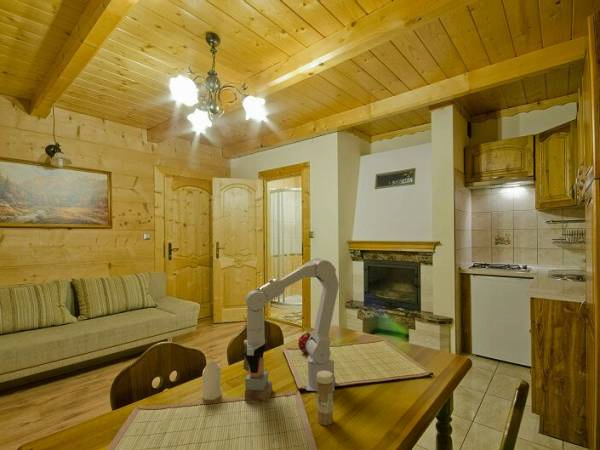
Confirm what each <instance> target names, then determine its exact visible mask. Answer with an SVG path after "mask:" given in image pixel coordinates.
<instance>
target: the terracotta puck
mask: <svg viewBox="0 0 600 450" xmlns="http://www.w3.org/2000/svg"><path fill="white" fill-rule="evenodd" d="M264 371H265V359H264V356H263V357H260V360H259V368H258V372H257V373H251V371H250V367H249V370H248V374H249V375H250V376H252V377H259V376H262V375H263V374H264Z"/></svg>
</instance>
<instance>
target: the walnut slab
mask: <svg viewBox="0 0 600 450" xmlns="http://www.w3.org/2000/svg"><path fill="white" fill-rule="evenodd" d="M272 393H273V380H268V382H267V384H266V386H265V388H264V390H263V391H260V390H245V391H244V402H253V403H254V402H257V403H258V402H259V403H268V402H269V400H270V397H271V394H272Z"/></svg>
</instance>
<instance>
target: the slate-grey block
mask: <svg viewBox="0 0 600 450" xmlns="http://www.w3.org/2000/svg"><path fill="white" fill-rule="evenodd" d="M268 374H269V372H268V370H267V371H266V370H264V374H263V375H262V376H259V377H252V376H250V375H249V373H248V374H247V376H246V377H245V378H244V380H245V381H244V382H245V383H244V385H245V390H260V391H263V390H264V388H265V386H266V384H267V382H268V381H269V375H268Z"/></svg>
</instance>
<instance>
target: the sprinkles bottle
mask: <svg viewBox="0 0 600 450" xmlns="http://www.w3.org/2000/svg"><path fill="white" fill-rule="evenodd" d="M332 381H333V376H332V373H331V372H329V371H319V372H318V373H317V390H318V391H317V400H316V403H317V406H316V407H317V422H318V423H319V424H320V425H321V426H329V425H331V424H332V423H334V417H333V416H334V415H333V412H334V411H333V409H334V398H333V397H334V396H333V395H334V392H332Z"/></svg>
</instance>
